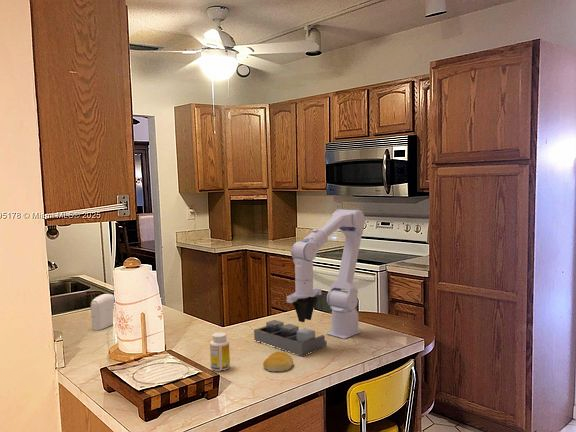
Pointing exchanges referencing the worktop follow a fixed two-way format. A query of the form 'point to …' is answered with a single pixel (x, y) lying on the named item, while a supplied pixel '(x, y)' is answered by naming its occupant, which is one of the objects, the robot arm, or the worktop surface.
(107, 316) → the photo printer
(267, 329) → the rack
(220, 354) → the supplement bottle
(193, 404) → the worktop surface
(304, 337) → the grey block
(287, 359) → the bread roll
